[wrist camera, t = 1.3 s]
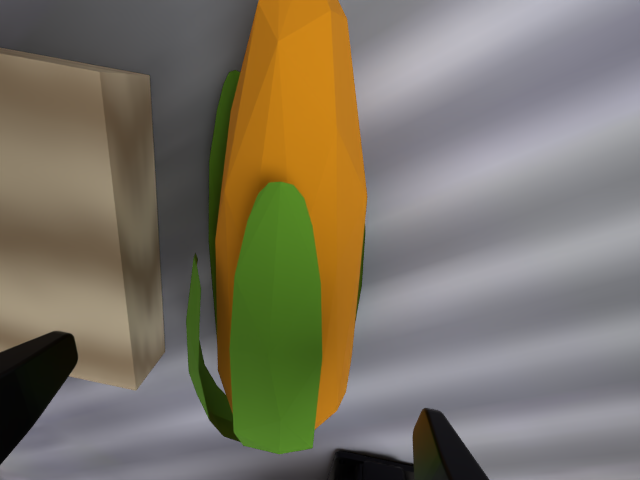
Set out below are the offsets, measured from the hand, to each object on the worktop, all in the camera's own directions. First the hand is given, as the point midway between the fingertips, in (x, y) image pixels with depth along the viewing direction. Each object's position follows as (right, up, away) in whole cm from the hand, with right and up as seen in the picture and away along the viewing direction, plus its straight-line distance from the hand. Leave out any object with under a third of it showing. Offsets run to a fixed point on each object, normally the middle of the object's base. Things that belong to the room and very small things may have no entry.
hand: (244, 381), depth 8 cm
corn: (+1, +4, +8) cm, 9 cm away
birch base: (-13, +5, +9) cm, 16 cm away
